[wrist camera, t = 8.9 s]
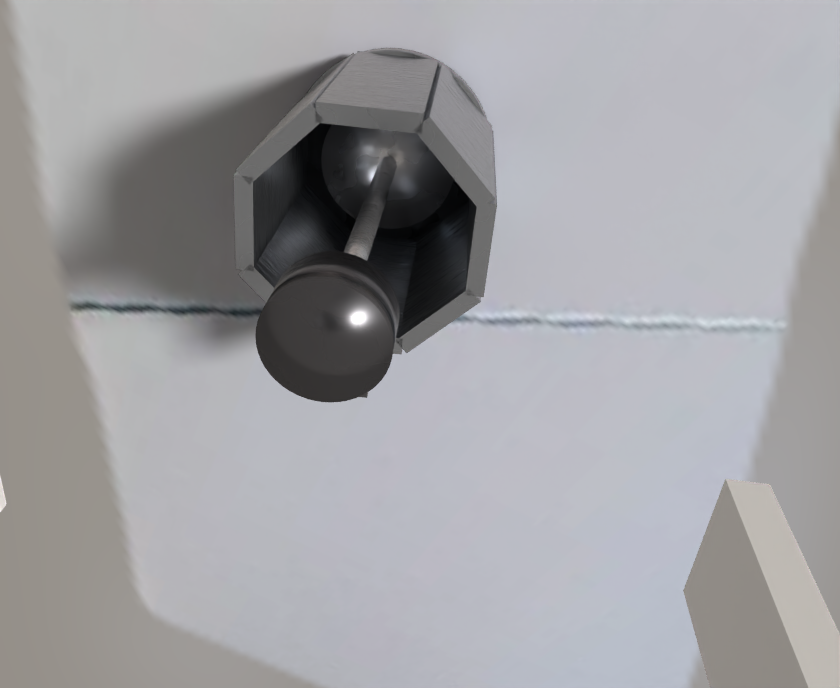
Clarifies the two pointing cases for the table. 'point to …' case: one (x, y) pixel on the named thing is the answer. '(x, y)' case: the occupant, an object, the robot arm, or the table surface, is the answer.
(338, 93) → the octagonal container
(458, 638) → the table surface
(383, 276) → the plunger
